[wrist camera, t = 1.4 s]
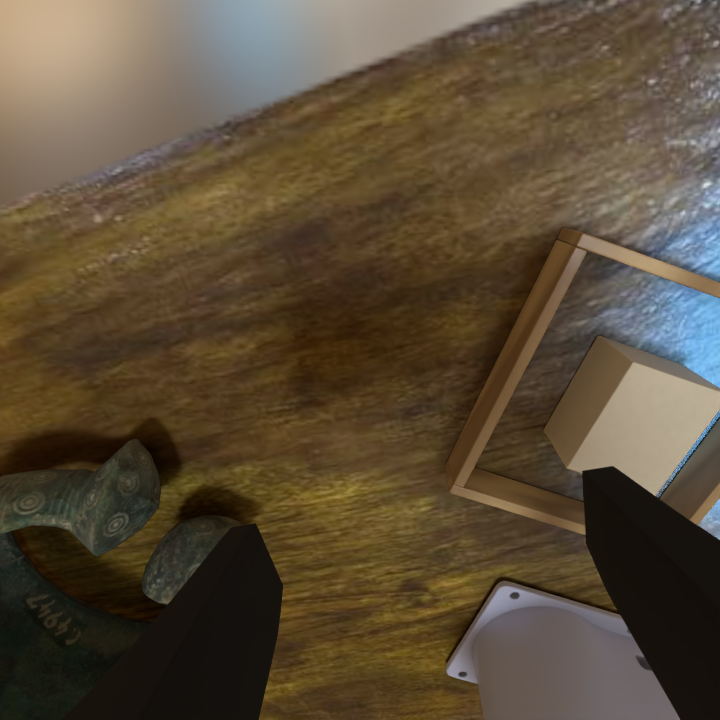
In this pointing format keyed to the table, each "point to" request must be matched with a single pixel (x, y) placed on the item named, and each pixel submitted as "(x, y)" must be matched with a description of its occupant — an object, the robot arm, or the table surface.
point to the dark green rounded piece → (65, 612)
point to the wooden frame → (686, 492)
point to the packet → (631, 414)
